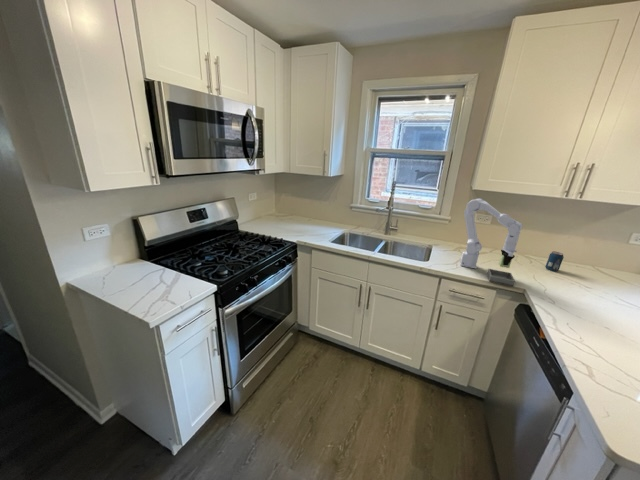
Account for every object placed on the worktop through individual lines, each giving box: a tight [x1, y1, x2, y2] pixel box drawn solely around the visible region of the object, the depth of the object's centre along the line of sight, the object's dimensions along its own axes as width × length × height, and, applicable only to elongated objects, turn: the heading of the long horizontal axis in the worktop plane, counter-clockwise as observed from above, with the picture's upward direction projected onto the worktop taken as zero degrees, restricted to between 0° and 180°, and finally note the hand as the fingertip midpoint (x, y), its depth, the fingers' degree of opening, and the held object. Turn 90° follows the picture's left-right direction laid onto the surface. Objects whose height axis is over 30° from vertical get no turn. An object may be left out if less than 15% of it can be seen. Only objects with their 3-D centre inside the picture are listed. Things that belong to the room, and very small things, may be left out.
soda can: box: [544, 251, 564, 273], centre depth 174 cm, size 7×7×12 cm
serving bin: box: [486, 268, 516, 288], centre depth 157 cm, size 12×12×4 cm
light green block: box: [498, 254, 513, 269], centre depth 160 cm, size 5×5×6 cm
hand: (504, 263), depth 160 cm, fingers closed on light green block, 5 cm apart
